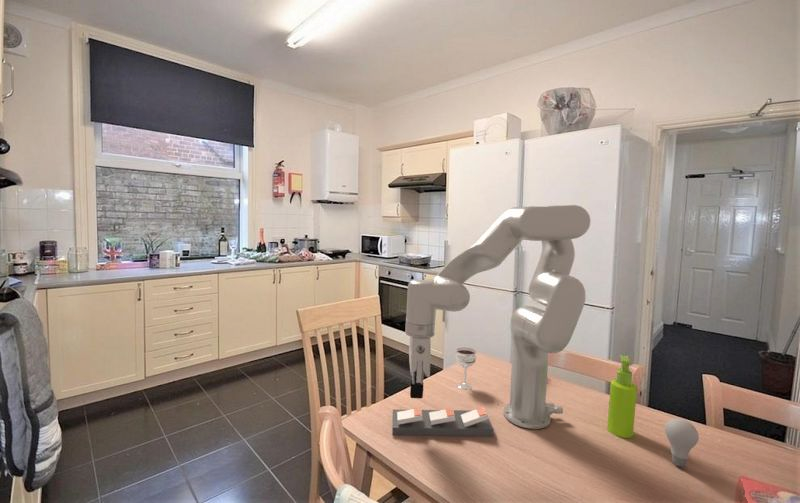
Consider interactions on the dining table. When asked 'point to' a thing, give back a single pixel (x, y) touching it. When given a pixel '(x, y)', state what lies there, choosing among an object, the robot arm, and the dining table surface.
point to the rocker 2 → (474, 416)
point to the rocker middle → (442, 416)
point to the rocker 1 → (409, 416)
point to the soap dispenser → (622, 402)
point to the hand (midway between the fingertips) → (416, 396)
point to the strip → (441, 426)
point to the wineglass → (465, 363)
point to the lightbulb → (681, 439)
